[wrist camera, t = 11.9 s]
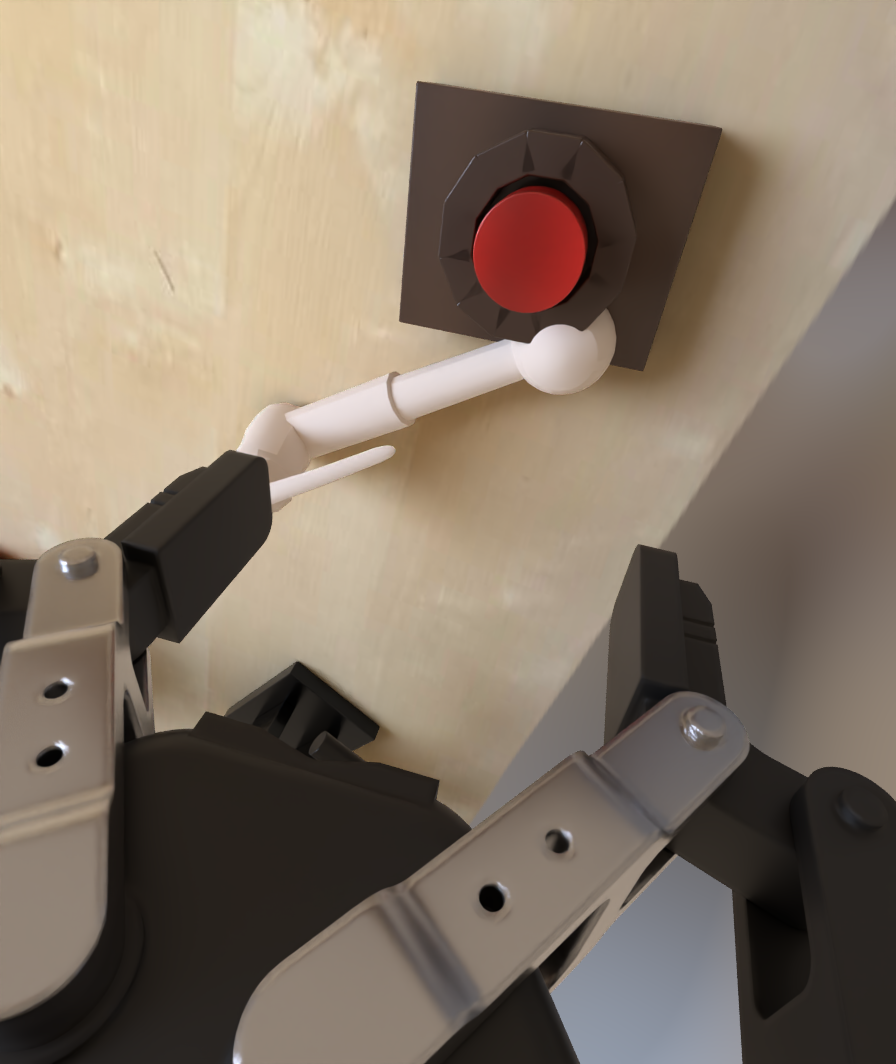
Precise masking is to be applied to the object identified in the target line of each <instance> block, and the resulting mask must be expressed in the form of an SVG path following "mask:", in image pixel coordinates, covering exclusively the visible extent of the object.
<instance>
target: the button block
mask: <svg viewBox="0 0 896 1064" xmlns="http://www.w3.org/2000/svg"><path fill="white" fill-rule="evenodd" d="M721 133H722V128H719V127H716V126H711V125H704V124H698V123H692V122H685V121H679V120H672V119H666V118H659V117H653V116H646V115H640V114H633V113H627V112H620V111H614V110H607V109H601V108H594V107H588V106H581V105H575V104H568V103H562V102H555V101H549V100H542V99H536V98H529V97H523V96H516V95H510V94H503V93H497V92H490V91H484V90H477V89H471V88H464V87H458V86H452V85H445V84H439V83H431V82H421V81H418V82H417V83H416V97H415V111H414V124H413V138H412V152H411V165H410V179H409V193H408V207H407V220H406V234H405V248H404V262H403V275H402V289H401V303H400V316H399V321H400V322H403V323H408V324H413V325H418V326H423V327H428V328H432V329H437V330H442V331H447V332H452V333H457V334H462V335H467V336H472V337H477V338H482V339H487V340H491V341H496V342H499V341H502V340H504V339H506V340H511V341H516V342H521V343H526V344H530V343H531V342H532V340H533V338H534V337H535V336H536V335H537V334H538V333H539V332H540V331H541V330H543V329H545V328H546V327H549V326H553V325H568V326H572V327H574V328H576V329H577V330H579V331H584V330H585V329H587V328H588V327H589V326H590V325H591V324H592V323H593V322H594V321H595V320H596V318H597V317H598V316H599V315H600V314H601V313H602V312H603V311H604V310H605V309H606V308H607V310H608V311H609V313H610V315H611V318H612V320H613V322H614V325H615V332H616V346H615V352H614V355H613V357H612V360H611V362H610V365H614V366H619V367H624V368H629V369H634V370H639V371H643V370H644V367H645V364H646V361H647V358H648V355H649V352H650V349H651V346H652V343H653V340H654V337H655V334H656V331H657V328H658V325H659V322H660V319H661V316H662V313H663V310H664V307H665V303H666V300H667V297H668V294H669V291H670V288H671V285H672V282H673V279H674V276H675V273H676V270H677V267H678V264H679V261H680V258H681V255H682V252H683V249H684V246H685V243H686V240H687V236H688V233H689V230H690V227H691V224H692V221H693V218H694V215H695V212H696V209H697V206H698V203H699V200H700V197H701V194H702V191H703V188H704V185H705V182H706V179H707V176H708V173H709V169H710V166H711V163H712V160H713V157H714V154H715V151H716V148H717V145H718V142H719V139H720V136H721ZM529 186H546V187H550V188H554V189H556V190H558V191H560V192H562V193H564V194H565V195H566V196H568V197H569V198H570V199H571V200H572V201H573V202H574V203H575V204H576V205H577V207H578V208H579V210H580V211H581V214H582V216H583V218H584V220H585V223H586V227H587V232H588V249H587V255H586V259H585V263H584V266H583V270H582V273H581V275H580V278H579V280H578V282H577V283H576V285H575V287H574V288H573V289H572V291H571V292H570V293H569V294H568V295H567V296H566V297H565V298H564V299H563V300H562V301H561V302H559V303H558V304H556V305H555V306H553V307H551V308H549V309H546V310H543V311H540V312H534V313H520V312H515V311H511V310H509V309H506V308H504V307H502V306H501V305H499V304H497V303H496V302H495V301H494V300H492V299H491V298H490V297H489V296H488V294H487V293H486V292H485V291H484V289H483V288H482V286H481V284H480V282H479V280H478V278H477V275H476V272H475V268H474V262H473V247H474V241H475V236H476V233H477V230H478V228H479V226H480V224H481V222H482V220H483V219H484V217H485V216H486V214H487V213H488V212H489V211H490V210H491V209H492V208H493V207H494V206H495V205H496V204H497V203H498V202H500V201H501V200H502V199H504V198H505V197H506V196H508V195H509V194H510V193H512V192H514V191H516V190H518V189H521V188H524V187H529Z"/></svg>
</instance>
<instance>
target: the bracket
mask: <svg viewBox="0 0 896 1064" xmlns="http://www.w3.org/2000/svg"><path fill="white" fill-rule="evenodd" d="M224 717H227V718H230V719H233V720H237V721H240V722H243V723H247V724H250V725H254V726H257V727H260V728H262V729H264V730H265V731H267V732H269V733H270V734H272V735H274V736H275V737H277V738H278V739H280V740H282V741H283V742H285V743H286V744H288V745H290V746H291V747H293V748H294V749H296V750H298V751H299V752H301V753H303V754H304V755H306V756H308V757H310V758H312V759H315V758H314V757H312V756H311V755H310V754H309V749H310V747H311V745H312V743H313V742H314V740H315V739H316V738H317V737H318V736H319V735H320V734H321V733H322V732H324V731H326V732H328V733H329V734H330V735H332V736H333V737H334V738H336V739H337V740H338V741H339V742H341V743H342V744H343V745H345V746H346V747H347V748H349V749H350V750H351V751H353V750H355V749H357V748H359V747H361V746H363V745H365V744H367V743H369V742H371V741H373V740H375V738H376V735H377V733H378V730H379V726H378V725H377V724H375V723H374V722H373V721H372V720H370V719H369V718H368V717H367V716H365V715H364V714H363V713H362V712H360V711H359V710H358V709H357V708H355V707H354V706H353V705H352V704H350V703H349V702H348V701H347V700H345V699H344V698H343V697H342V696H340V695H339V694H338V693H337V692H335V691H334V690H333V689H332V688H330V687H329V686H328V685H327V684H325V683H324V682H323V681H321V680H320V679H319V678H318V677H316V676H315V675H314V674H313V673H311V672H310V671H309V670H308V669H306V668H305V667H304V666H303V665H301V664H300V663H299V662H295V663H294V664H293V665H291V666H290V667H288V668H287V669H285V670H284V671H282V672H281V673H280V674H278V675H277V676H275V677H274V678H272V679H271V680H269V681H268V682H267V683H265V684H264V685H262V686H261V687H259V688H258V689H257V690H255V691H254V692H252V693H251V694H249V695H248V696H246V697H245V698H244V699H242V700H241V701H239V702H238V703H236V704H235V705H234V706H232V707H231V708H229V709H228V711H227V712H226V714H225V715H224Z"/></svg>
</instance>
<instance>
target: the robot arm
mask: <svg viewBox="0 0 896 1064" xmlns="http://www.w3.org/2000/svg"><path fill="white" fill-rule="evenodd" d="M271 525H272V505H271V493H270V482H269V470H268V464H267V461H266V460H265V459H264V458H263V457H259V456H255V455H251V454H246V453H242V452H237V451H233V450H229V451H226V452H225V453H224V454H223V455H221V456H220V457H219V458H218V459H217V460H216V461H214V462H213V463H212V464H211V465H210V466H209V467H200V468H198V469H196V470H193V471H191V472H189V473H186V474H184V475H181V476H179V477H178V478H177V479H176V480H175V481H173V482H172V483H171V484H170V485H169V486H167V487H166V488H165V489H164V492H160V493H159V494H158V495H156V496H155V497H154V498H153V499H152V500H151V503H147V504H145V505H144V506H143V507H142V508H141V509H139V510H138V511H137V512H136V513H134V514H133V515H132V516H131V517H130V518H128V519H127V520H126V521H125V522H124V523H122V524H121V525H120V526H119V527H117V528H116V529H115V530H114V531H113V532H111V533H110V534H109V535H108V536H106V537H105V538H104V539H101V538H82V539H76V540H71V541H68V542H65V543H62V544H59V545H57V546H55V547H53V548H51V549H50V550H48V551H47V552H45V553H44V554H43V555H42V556H41V557H40V558H39V559H38V560H16V559H0V1064H580V1062H579V1060H578V1058H577V1055H576V1053H575V1051H574V1049H573V1046H572V1044H571V1042H570V1039H569V1037H568V1035H567V1032H566V1030H565V1028H564V1025H563V1023H562V1021H561V1018H560V1016H559V1014H558V1012H557V1009H556V1007H555V1004H554V1002H553V1000H552V997H551V995H550V994H551V992H552V991H553V990H554V989H555V988H556V987H557V986H558V985H559V984H560V983H561V982H562V981H563V980H564V979H565V978H566V977H567V976H568V975H569V974H570V972H571V971H572V970H573V969H574V968H575V967H576V966H577V965H578V964H579V963H580V962H581V961H582V960H583V958H584V957H585V956H586V955H587V954H588V953H589V952H590V951H591V949H592V948H593V947H594V946H595V945H596V943H597V942H598V941H599V940H600V939H601V937H602V936H603V935H604V933H605V932H606V931H607V930H608V929H609V927H610V926H611V925H612V924H613V923H614V922H615V921H616V919H617V918H618V917H619V916H620V915H621V914H622V913H623V912H624V911H625V910H626V909H627V908H628V907H629V906H630V905H631V904H632V903H633V901H634V900H636V898H637V897H638V896H639V895H640V894H641V893H642V892H643V891H644V890H645V889H646V888H647V887H648V886H649V885H650V884H651V883H652V882H653V881H654V880H655V879H656V878H657V876H658V875H659V874H660V873H661V872H662V871H663V870H664V869H665V868H666V867H667V866H668V865H669V864H670V863H671V862H672V861H673V860H674V859H675V858H676V857H677V856H680V857H682V858H683V859H685V860H686V861H688V862H689V863H691V864H693V865H694V866H696V867H697V868H699V869H700V870H702V871H704V872H705V873H707V874H708V875H710V876H711V877H713V878H715V879H716V880H718V881H719V882H721V883H722V884H724V885H726V886H727V887H729V888H730V889H732V894H733V895H732V896H733V913H734V929H735V944H736V945H735V946H736V961H737V978H738V995H739V1012H740V1029H741V1045H742V1061H743V1064H896V801H895V800H894V799H893V798H892V797H891V796H890V795H889V794H888V793H887V792H886V791H885V790H883V789H882V788H881V787H879V786H878V785H877V784H876V783H874V782H872V781H871V780H869V779H868V778H866V777H864V776H862V775H860V774H858V773H856V772H853V771H850V770H847V769H843V768H838V767H824V768H821V769H818V770H816V771H814V772H813V773H812V774H811V775H810V776H809V777H806V776H804V775H802V774H800V773H798V772H797V771H795V770H793V769H791V768H789V767H787V766H785V765H783V764H781V763H780V762H778V761H776V760H774V759H772V758H771V757H769V756H767V755H765V754H764V753H762V752H761V751H759V750H758V749H757V748H755V747H754V746H753V745H751V743H750V742H749V737H748V734H747V731H746V730H745V728H744V726H743V724H742V723H741V721H740V720H739V719H738V717H737V716H736V715H735V714H734V713H733V712H732V711H731V710H730V709H728V708H727V706H726V700H725V694H724V686H723V680H722V672H721V666H720V659H719V652H718V645H716V641H717V639H716V632H715V628H714V619H713V612H712V605H711V603H710V601H709V600H708V598H707V597H706V595H705V594H704V592H703V591H702V589H701V588H700V586H699V585H698V584H696V583H692V582H688V581H684V580H679V571H678V560H677V554H676V553H674V552H670V551H665V550H661V549H657V548H653V547H648V546H644V545H640V544H638V545H637V547H636V548H635V550H634V553H633V556H632V558H631V561H630V564H629V566H628V569H627V572H626V575H625V577H624V580H623V583H622V586H621V588H620V591H619V594H618V596H617V599H616V602H615V605H614V609H613V613H612V618H611V624H610V635H609V655H608V673H607V693H606V713H605V732H604V746H602V747H601V748H600V749H599V750H598V751H596V752H595V753H593V754H591V755H589V756H588V755H587V754H586V753H585V752H584V751H577V752H575V753H573V754H572V755H570V756H568V757H567V758H565V759H564V760H563V761H562V762H560V763H559V764H558V765H556V766H555V767H554V768H552V769H551V770H550V771H548V772H547V773H546V774H544V775H543V776H542V777H540V778H539V779H538V780H537V781H535V782H534V783H533V784H531V785H530V786H529V787H527V788H526V789H525V790H523V791H522V792H521V793H519V794H518V795H517V796H515V797H514V798H513V799H512V800H510V801H509V802H508V803H506V804H505V805H504V806H502V807H501V808H500V809H499V810H497V811H496V812H494V813H493V814H492V815H491V816H489V817H488V818H487V819H485V820H484V821H483V822H481V823H480V824H479V825H478V826H476V827H475V828H473V829H471V827H470V826H469V825H468V824H467V823H466V822H465V821H464V820H463V819H462V818H461V817H460V816H458V815H457V814H456V813H455V812H453V811H452V810H451V809H450V808H448V807H447V806H445V805H444V804H442V803H441V802H439V801H437V800H436V798H437V792H438V786H439V781H440V780H436V779H433V778H430V777H426V776H423V775H420V774H416V773H413V772H409V771H406V770H403V769H399V768H396V767H392V766H389V765H386V764H382V763H375V762H354V761H333V760H317V759H312V758H310V757H308V756H306V755H304V754H303V753H301V752H299V751H298V750H296V749H294V748H293V747H291V746H290V745H288V744H286V743H285V742H283V741H282V740H280V739H278V738H277V737H275V736H274V735H272V734H270V733H269V732H267V731H265V730H264V729H262V728H260V727H257V726H254V725H250V724H247V723H243V722H240V721H237V720H233V719H230V718H227V717H223V716H220V715H216V714H213V713H210V712H205V713H204V715H203V716H202V718H201V719H200V720H199V722H198V723H197V725H196V726H195V728H194V729H178V730H169V731H163V732H158V733H155V726H154V709H153V690H152V672H151V656H150V651H149V648H148V646H149V645H150V644H151V643H152V642H153V641H154V640H155V639H156V637H158V638H162V639H165V640H169V641H172V642H176V643H180V642H181V641H182V640H183V639H184V637H185V636H186V635H187V634H188V633H189V631H190V630H191V629H192V628H193V627H194V626H195V624H196V623H197V622H198V621H199V620H200V618H201V617H202V616H203V615H204V614H205V612H206V611H207V610H208V609H209V608H210V607H211V605H212V604H213V603H214V602H215V601H216V599H217V598H218V597H219V596H220V595H221V593H222V592H223V591H224V590H225V589H226V588H227V586H228V585H229V584H230V583H231V582H232V580H233V579H234V578H235V577H236V576H237V575H238V573H239V572H240V571H241V570H242V569H243V567H244V566H245V565H246V564H247V563H248V561H249V560H250V559H251V558H252V557H253V556H254V554H255V553H256V552H257V551H258V550H259V548H260V547H261V546H262V545H263V544H264V542H265V541H266V539H267V537H268V535H269V532H270V529H271Z"/></svg>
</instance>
